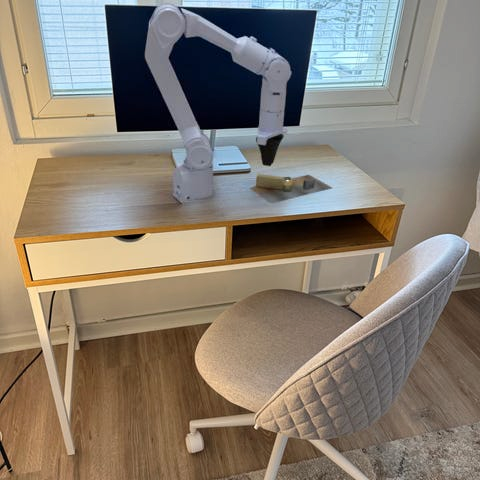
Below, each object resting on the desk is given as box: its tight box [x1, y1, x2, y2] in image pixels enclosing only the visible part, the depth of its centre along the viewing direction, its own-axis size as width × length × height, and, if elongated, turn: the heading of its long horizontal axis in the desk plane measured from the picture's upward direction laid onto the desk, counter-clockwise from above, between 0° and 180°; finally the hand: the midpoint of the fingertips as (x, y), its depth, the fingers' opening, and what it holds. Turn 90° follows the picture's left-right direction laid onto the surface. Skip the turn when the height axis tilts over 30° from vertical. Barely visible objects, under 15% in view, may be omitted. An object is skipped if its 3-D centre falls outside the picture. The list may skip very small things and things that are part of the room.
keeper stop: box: [303, 177, 315, 190], centre depth 121 cm, size 3×1×2 cm, turn 122°
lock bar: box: [255, 173, 293, 191], centre depth 120 cm, size 9×3×3 cm, turn 77°
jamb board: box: [249, 174, 333, 204], centre depth 122 cm, size 20×10×1 cm, turn 122°
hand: (267, 164), depth 116 cm, fingers closed
